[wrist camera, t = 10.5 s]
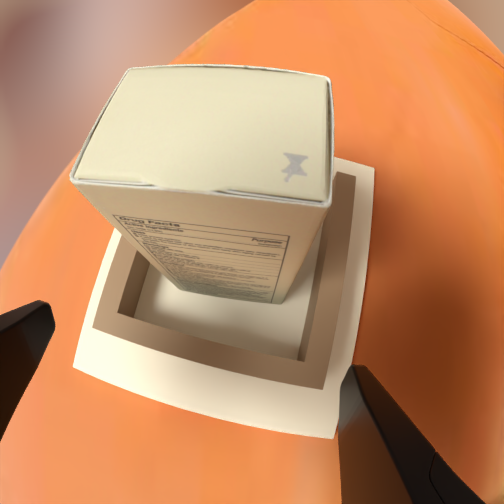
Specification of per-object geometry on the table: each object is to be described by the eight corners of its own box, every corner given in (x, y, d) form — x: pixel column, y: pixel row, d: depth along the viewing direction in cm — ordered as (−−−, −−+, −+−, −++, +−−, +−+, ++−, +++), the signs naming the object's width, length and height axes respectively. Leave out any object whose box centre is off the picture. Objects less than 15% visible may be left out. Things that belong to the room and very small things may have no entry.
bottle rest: (330, 436, 16) (346, 450, 13) (77, 366, 17) (51, 366, 14) (371, 172, 21) (386, 147, 18) (162, 129, 22) (153, 102, 19)
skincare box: (290, 236, 19) (345, 75, 7) (282, 307, 18) (349, 212, 6) (186, 221, 19) (125, 60, 8) (171, 290, 18) (60, 179, 6)
